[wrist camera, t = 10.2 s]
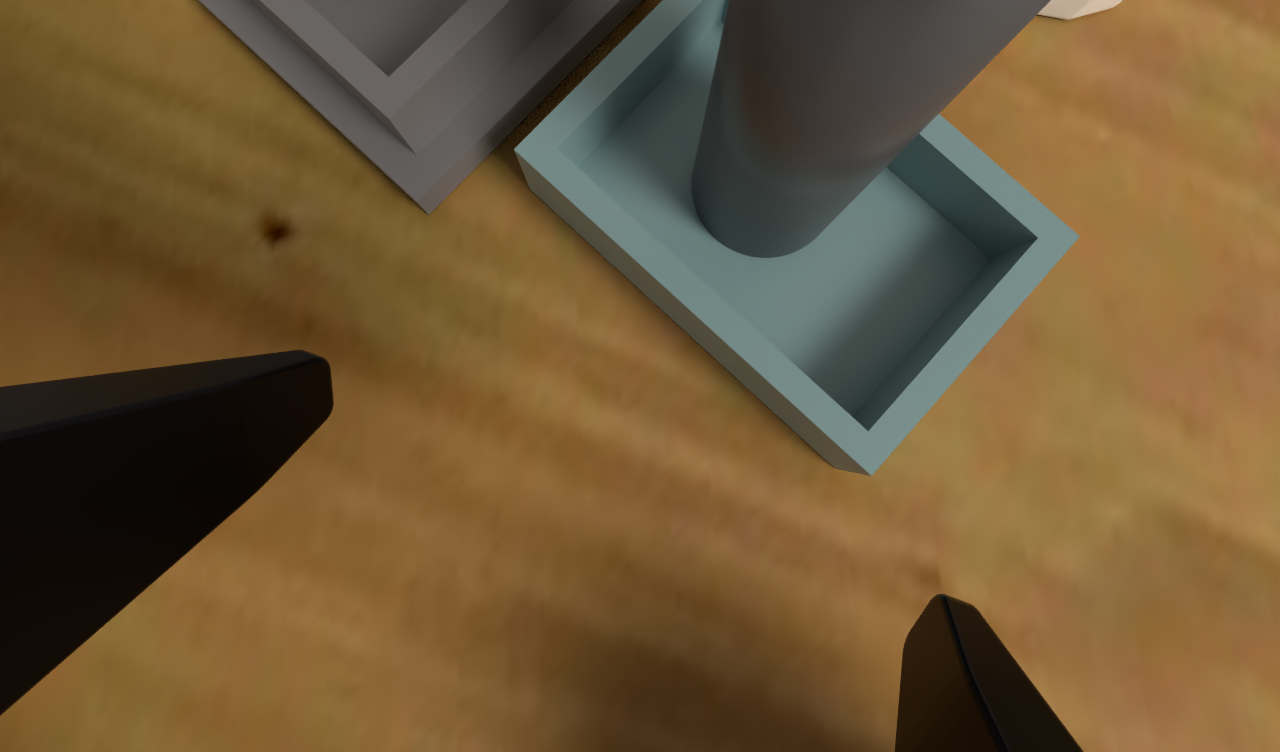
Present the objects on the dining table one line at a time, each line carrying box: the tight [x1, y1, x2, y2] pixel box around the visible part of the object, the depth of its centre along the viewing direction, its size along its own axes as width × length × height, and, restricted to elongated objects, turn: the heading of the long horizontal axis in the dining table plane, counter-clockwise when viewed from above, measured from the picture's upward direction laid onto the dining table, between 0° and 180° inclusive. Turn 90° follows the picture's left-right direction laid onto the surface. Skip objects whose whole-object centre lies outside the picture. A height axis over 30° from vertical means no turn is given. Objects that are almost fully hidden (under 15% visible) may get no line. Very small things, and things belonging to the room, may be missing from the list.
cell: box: [691, 0, 1051, 258], centre depth 11 cm, size 4×4×14 cm
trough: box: [514, 0, 1080, 476], centre depth 17 cm, size 9×13×3 cm
